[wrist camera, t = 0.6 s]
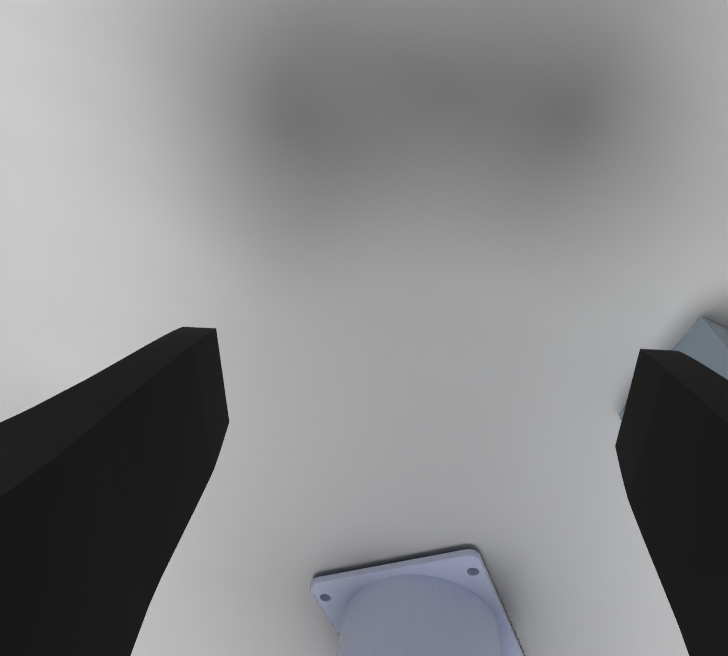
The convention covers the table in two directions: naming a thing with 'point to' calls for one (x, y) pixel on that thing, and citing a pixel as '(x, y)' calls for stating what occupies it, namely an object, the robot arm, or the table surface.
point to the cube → (705, 346)
